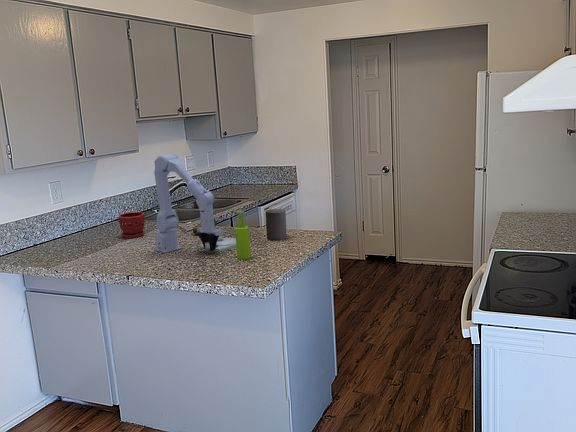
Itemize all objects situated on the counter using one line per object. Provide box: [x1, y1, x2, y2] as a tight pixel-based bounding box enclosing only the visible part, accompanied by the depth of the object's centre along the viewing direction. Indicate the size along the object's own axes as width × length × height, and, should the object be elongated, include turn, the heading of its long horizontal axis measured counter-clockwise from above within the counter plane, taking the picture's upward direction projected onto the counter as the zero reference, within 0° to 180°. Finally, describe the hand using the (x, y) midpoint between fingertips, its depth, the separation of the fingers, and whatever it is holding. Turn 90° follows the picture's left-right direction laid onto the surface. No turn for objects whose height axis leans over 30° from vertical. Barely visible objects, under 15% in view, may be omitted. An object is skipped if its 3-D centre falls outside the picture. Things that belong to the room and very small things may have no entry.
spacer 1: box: [204, 241, 216, 255], centre depth 247 cm, size 4×4×5 cm
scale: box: [198, 237, 237, 253], centre depth 259 cm, size 16×15×2 cm
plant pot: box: [118, 211, 146, 239], centre depth 291 cm, size 13×13×12 cm
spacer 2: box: [216, 228, 224, 241], centre depth 262 cm, size 4×4×5 cm
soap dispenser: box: [232, 210, 252, 260], centre depth 234 cm, size 6×7×20 cm
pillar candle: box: [264, 208, 288, 242], centre depth 265 cm, size 10×10×15 cm
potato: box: [192, 218, 217, 236], centre depth 288 cm, size 8×13×8 cm, turn 110°
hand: (210, 249), depth 247 cm, fingers open, 4 cm apart
